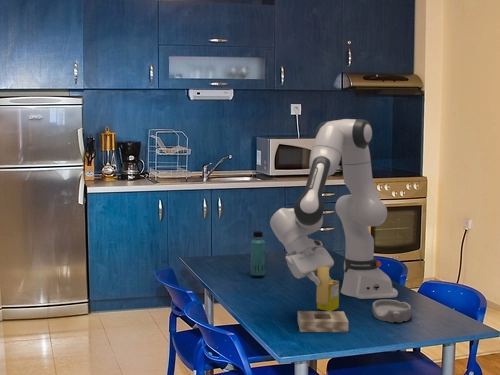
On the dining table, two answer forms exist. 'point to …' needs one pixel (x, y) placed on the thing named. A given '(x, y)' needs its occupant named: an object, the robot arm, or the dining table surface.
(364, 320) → the dining table surface
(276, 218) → the robot arm
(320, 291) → the pin
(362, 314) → the dining table surface
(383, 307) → the dish
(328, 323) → the hole block
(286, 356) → the dining table surface
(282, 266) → the dining table surface
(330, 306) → the supplement box
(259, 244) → the beverage bottle
